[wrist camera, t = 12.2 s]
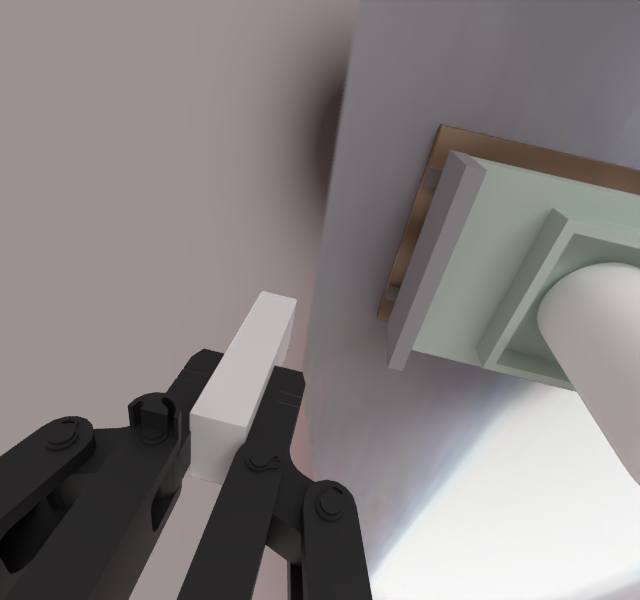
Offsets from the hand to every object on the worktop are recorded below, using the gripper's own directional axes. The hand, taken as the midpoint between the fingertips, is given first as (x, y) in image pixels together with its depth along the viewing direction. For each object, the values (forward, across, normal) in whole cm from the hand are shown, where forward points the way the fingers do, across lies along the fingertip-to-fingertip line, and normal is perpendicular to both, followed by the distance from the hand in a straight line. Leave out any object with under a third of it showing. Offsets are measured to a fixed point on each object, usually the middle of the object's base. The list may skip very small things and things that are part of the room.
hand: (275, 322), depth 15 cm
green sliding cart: (+13, -16, 0) cm, 20 cm away
